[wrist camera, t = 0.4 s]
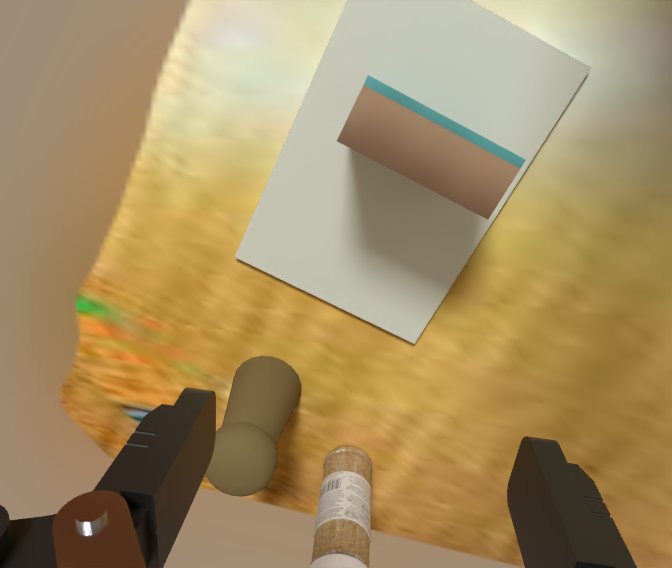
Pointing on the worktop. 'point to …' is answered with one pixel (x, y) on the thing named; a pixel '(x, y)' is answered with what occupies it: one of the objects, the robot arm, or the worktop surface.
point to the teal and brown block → (429, 148)
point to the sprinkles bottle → (344, 511)
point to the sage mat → (385, 184)
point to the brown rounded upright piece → (253, 426)
